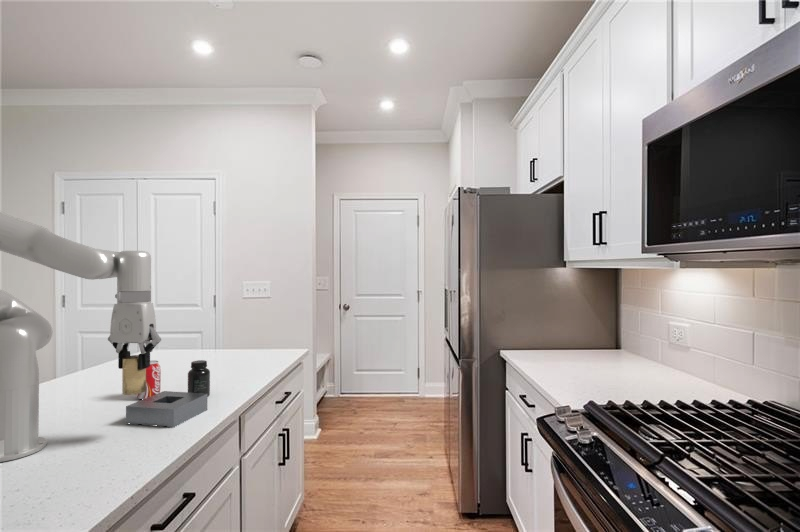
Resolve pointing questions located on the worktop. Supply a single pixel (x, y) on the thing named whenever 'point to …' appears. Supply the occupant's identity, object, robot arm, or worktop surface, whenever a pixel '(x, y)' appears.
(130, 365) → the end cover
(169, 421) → the housing
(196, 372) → the supplement bottle
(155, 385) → the soda can
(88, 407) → the worktop surface
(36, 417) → the robot arm
